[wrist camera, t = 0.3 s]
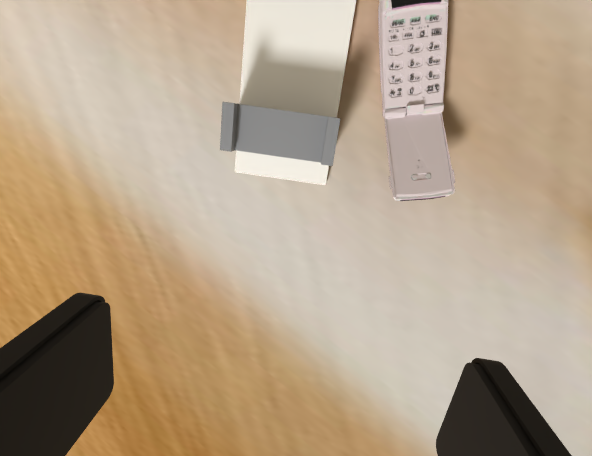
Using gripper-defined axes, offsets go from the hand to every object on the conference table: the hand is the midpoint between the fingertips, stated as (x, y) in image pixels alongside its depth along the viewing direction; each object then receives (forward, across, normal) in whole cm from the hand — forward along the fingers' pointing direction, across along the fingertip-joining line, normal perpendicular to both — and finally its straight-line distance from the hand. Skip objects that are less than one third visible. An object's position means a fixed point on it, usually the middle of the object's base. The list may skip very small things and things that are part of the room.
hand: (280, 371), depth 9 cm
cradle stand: (+29, +3, -12) cm, 32 cm away
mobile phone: (+30, -8, -13) cm, 33 cm away
